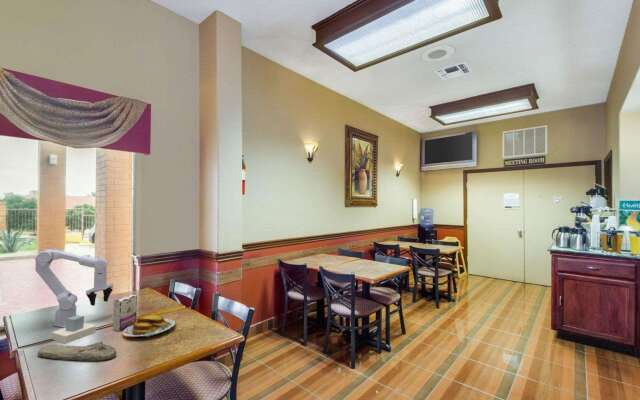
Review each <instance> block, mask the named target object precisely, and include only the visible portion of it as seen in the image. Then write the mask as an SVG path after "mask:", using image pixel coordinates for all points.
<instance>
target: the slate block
mask: <svg viewBox="0 0 640 400" xmlns="http://www.w3.org/2000/svg"><path fill="white" fill-rule="evenodd" d="M84 323H85V316H84V315H78V314H76V316H73V317H70V318H67V319H66V327H65V328H66V331H72V332H74V331H77V330H79V329H82V328H83V327H84Z"/></svg>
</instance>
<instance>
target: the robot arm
mask: <svg viewBox="0 0 640 400" xmlns="http://www.w3.org/2000/svg"><path fill="white" fill-rule="evenodd" d="M62 259H63V260H67V261H72V262H76V263H79V265H80V266H84V267H88V268H93V269H94V279H93V288H90V289H86V290H85V295H86V297H87V298H88V300H89V303H90V306H92V307H94V306H96V298H97V295H98V292H100V291H101V292H102V293H103V302H106V303H107V302H109V301H108V300H109V297H110V296H111V294H112V292H113V289H114V284H107V266H108V263H109V262H108V261H107V259H106V258H103V257H102V258H100V257H94V256H91V254H87V255H86V254H85V255H81V256H80V255H77V254H73V253H70V252H67V251H64V250H60V249H54V248H47V249H44V250H42V251H39V252H38V253H37V255H36V257H35V258H34V260H35V267H34V268H35V272H36V273H37V274H38V275H39V277H40V278H41V279H42V280H43V282H45V284H46V285H47V286H48V288H49V289H50V290H51V292H52V293H53V294H54V295H55V296H56V301H57V303H58V306H59V308H58V309H57V310H56V311H55V312H54V313H55V314H54V323H53V324H52V326H55V327H60V328H63V329H64V328H66V319H67V318H70V317H73V316H76V315H77V304H76V303H77V302H78V296H77V295H76V294H74V293H72V292H71V290H70V291H69V290H68V289H67V288H66V287H65V285H63V283H62V282H61V280H60V279H59V278H58V277H57V276H56V274H55V273H54V272H53V270H52V269H51V268H50V267H51V263H52V262H53V261H55V260H62Z"/></svg>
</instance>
